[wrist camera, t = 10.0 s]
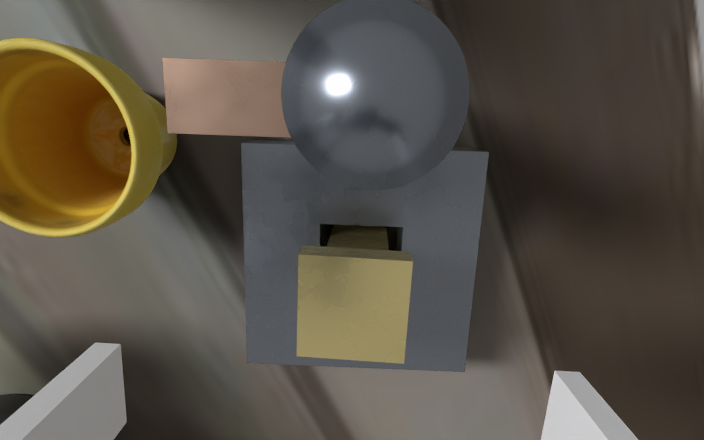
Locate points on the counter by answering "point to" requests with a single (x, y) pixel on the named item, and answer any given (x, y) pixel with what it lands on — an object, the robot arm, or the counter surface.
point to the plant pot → (74, 140)
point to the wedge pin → (353, 297)
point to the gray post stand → (350, 166)
